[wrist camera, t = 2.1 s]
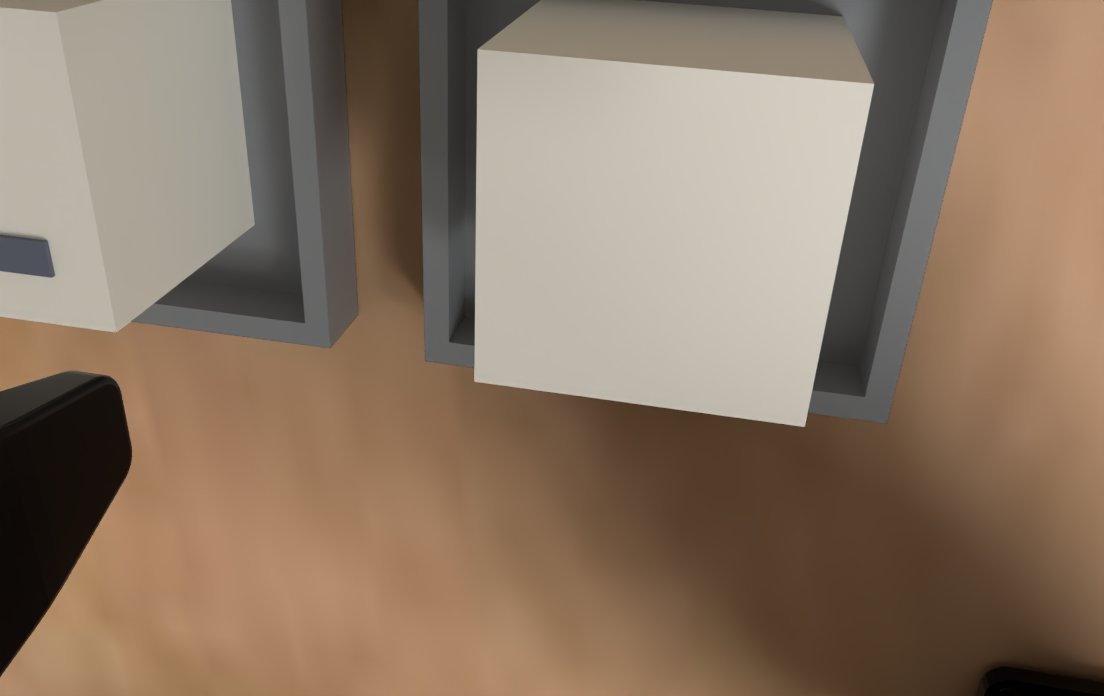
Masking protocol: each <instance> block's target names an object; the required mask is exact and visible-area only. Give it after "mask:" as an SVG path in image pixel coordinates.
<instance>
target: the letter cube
mask: <svg viewBox="0 0 1104 696" xmlns="http://www.w3.org/2000/svg"><path fill="white" fill-rule="evenodd" d="M254 225H255V222H254V213H253V203H252V194H251V184H250V175H249V166H248V156H247V147H246V137H245V128H244V118H243V109H242V99H241V90H240V80H239V71H238V62H237V52H236V43H235V33H234V24H233V14H232V5H231V0H0V317H7V318H14V319H21V320H28V321H36V322H43V323H50V324H58V325H65V326H72V327H79V328H87V329H94V330H101V331H109V332H116V333H117V332H118V331H119V330H120V329H122V328H123V327H124V326H126V325H127V324H128V323H129V322H131V321H132V320H133V319H135V318H136V317H137V316H138V315H140V314H141V313H142V312H144V311H145V310H146V309H147V308H149V307H150V306H151V305H153V304H154V303H155V302H156V301H158V300H159V299H160V298H161V297H163V296H164V295H165V294H167V293H168V292H169V291H170V290H172V289H173V288H174V287H176V286H177V285H178V284H179V283H181V282H182V281H183V280H185V279H186V278H187V277H188V276H190V275H191V274H192V273H194V272H195V271H196V270H197V269H199V268H200V267H201V266H202V265H204V264H205V263H206V262H208V261H209V260H210V259H211V258H213V257H214V256H215V255H217V254H218V253H219V252H220V251H222V250H223V249H224V248H226V247H227V246H228V245H229V244H231V243H232V242H233V241H234V240H236V239H237V238H238V237H240V236H241V235H242V234H243V233H245V232H246V231H247V230H249V229H250V228H251V227H252V226H254Z"/></svg>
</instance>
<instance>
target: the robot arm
mask: <svg viewBox="0 0 1104 696" xmlns="http://www.w3.org/2000/svg"><path fill="white" fill-rule="evenodd" d="M131 460H132V446H131V441H130V436H129V431H128V425H127V420H126V415H125V410H124V405H123V400H122V395H121V391H120V387H119V386H118V384H117V382H116V381H115V380H114V379H112V378H111V377H110V376H107V375H101V374H94V373H87V372H80V371H66V372H62V373H59V374H56V375H53V376H49V377H46V378H43V379H40V380H36V381H33V382H30V383H27V384H23V385H20V386H17V387H14V388H10V389H7V390H4V391H1V392H0V677H1V675H2V674H3V673H4V671H5V670H6V668H7V667H8V666H9V664H10V663H11V661H12V660H13V659H14V657H15V656H16V655H17V653H18V652H19V650H20V649H21V648H22V646H23V645H24V644H25V642H26V641H27V639H28V638H29V637H30V635H31V634H32V632H33V631H34V630H35V628H36V627H37V625H38V624H39V622H40V621H41V620H42V618H43V617H44V615H45V614H46V612H47V611H48V609H49V608H50V606H51V605H52V603H53V601H54V600H55V598H56V597H57V595H58V593H59V592H60V590H61V589H62V587H63V585H64V584H65V582H66V580H67V579H68V577H69V575H70V573H71V572H72V570H73V568H74V566H75V565H76V563H77V561H78V559H79V558H80V556H81V554H82V553H83V551H84V549H85V547H86V546H87V544H88V542H89V540H90V539H91V537H92V535H93V534H94V532H95V530H96V528H97V527H98V525H99V523H100V521H101V520H102V518H103V516H104V515H105V513H106V511H107V509H108V508H109V506H110V504H111V502H112V501H113V499H114V497H115V495H116V494H117V492H118V490H119V489H120V487H121V485H122V483H123V482H124V480H125V478H126V476H127V474H128V471H129V469H130V465H131ZM1004 688H1012V689H1011V690H1009V691H1000V690H1002V689H1004ZM976 696H1104V683H1102V682H1096V681H1090V680H1084V679H1078V678H1072V677H1066V676H1060V675H1054V674H1048V673H1042V672H1036V671H1030V670H1024V669H1018V668H1012V667H999V668H995V669H992V670H990V671H989V672H987V673H985V675H984V676H983V678H982V679H981V682H980V685H979V688H978V691H977V693H976Z"/></svg>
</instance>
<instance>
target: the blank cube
mask: <svg viewBox="0 0 1104 696" xmlns="http://www.w3.org/2000/svg"><path fill="white" fill-rule="evenodd" d="M873 88H874V82H873V80H872V78H871V76H870V73H869V71H868V69H867V67H866V65H865V62H864V60H863V58H862V56H861V54H860V51H859V49H858V47H857V45H856V43H855V40H854V38H853V36H852V34H851V32H850V29H849V27H848V25H847V23H846V21H845V18H844V16H833V15H820V14H807V13H794V12H782V11H769V10H756V9H743V8H730V7H718V6H705V5H692V4H679V3H667V2H654V1H641V0H540V1H539V2H538V3H537V4H535V5H534V6H533V7H531V8H530V9H529V10H527V11H526V12H525V13H524V14H522V15H521V16H520V17H518V18H517V19H516V20H515V21H513V22H512V23H511V24H509V25H508V26H507V27H506V28H504V29H503V30H502V31H500V32H499V33H498V34H497V35H495V36H494V37H493V38H491V39H490V40H489V41H488V42H486V43H485V44H484V45H482V46H481V47H480V48H478V51H477V155H476V259H475V363H474V382H480V383H488V384H495V385H502V386H510V387H517V388H524V389H531V390H539V391H546V392H553V393H561V394H568V395H575V396H582V397H590V398H597V399H604V400H612V401H619V402H626V403H634V404H641V405H648V406H655V407H663V408H670V409H677V410H685V411H692V412H699V413H706V414H714V415H721V416H728V417H736V418H743V419H750V420H757V421H765V422H772V423H779V424H787V425H794V426H801V427H805V424H806V419H807V414H808V409H809V404H810V399H811V394H812V389H813V384H814V379H815V374H816V369H817V364H818V359H819V354H820V350H821V345H822V340H823V335H824V330H825V325H826V320H827V315H828V310H829V305H830V300H831V295H832V290H833V285H834V280H835V276H836V271H837V266H838V261H839V256H840V251H841V246H842V241H843V236H844V231H845V226H846V221H847V216H848V211H849V206H850V202H851V197H852V192H853V187H854V182H855V177H856V172H857V167H858V162H859V157H860V152H861V147H862V142H863V137H864V132H865V128H866V123H867V118H868V113H869V108H870V103H871V98H872V93H873Z"/></svg>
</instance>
